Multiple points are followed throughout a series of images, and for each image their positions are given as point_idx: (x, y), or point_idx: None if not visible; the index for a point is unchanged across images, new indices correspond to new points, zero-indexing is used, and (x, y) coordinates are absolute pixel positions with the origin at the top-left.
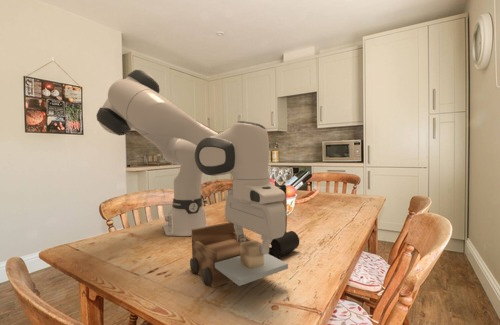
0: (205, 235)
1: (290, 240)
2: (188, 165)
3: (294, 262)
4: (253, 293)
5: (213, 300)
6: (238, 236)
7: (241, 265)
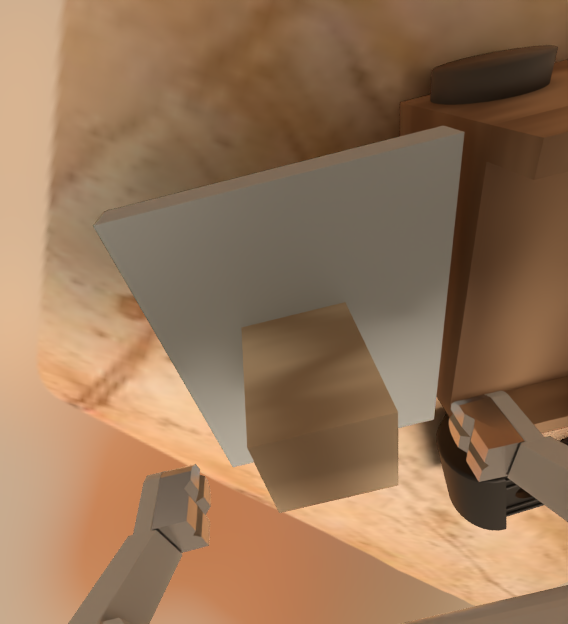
0: None
1: (461, 499)
2: None
3: None
4: None
5: (273, 55)
6: (507, 436)
7: (313, 299)
